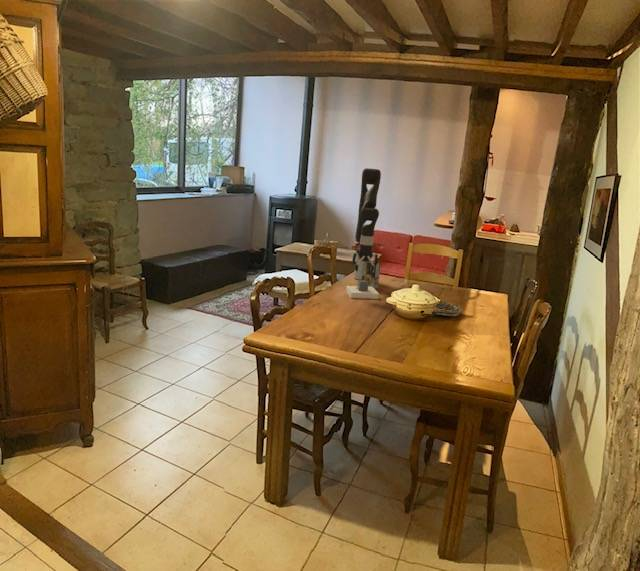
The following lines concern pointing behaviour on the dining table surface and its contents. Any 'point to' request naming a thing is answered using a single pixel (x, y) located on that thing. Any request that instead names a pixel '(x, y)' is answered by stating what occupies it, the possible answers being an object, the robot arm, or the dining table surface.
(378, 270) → the coffee box
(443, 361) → the dining table surface
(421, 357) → the dining table surface
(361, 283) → the plug
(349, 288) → the socket board
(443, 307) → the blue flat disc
